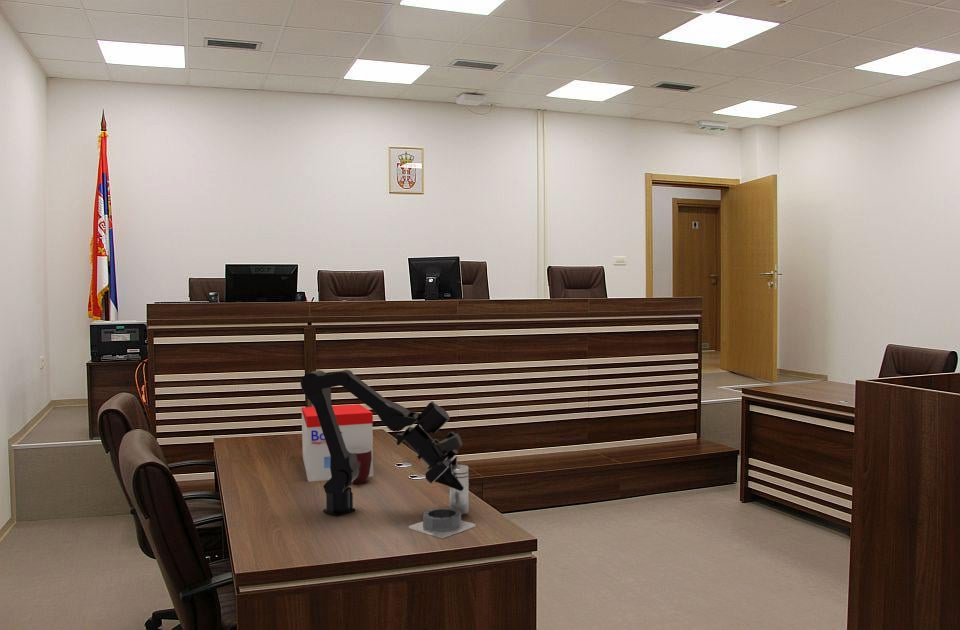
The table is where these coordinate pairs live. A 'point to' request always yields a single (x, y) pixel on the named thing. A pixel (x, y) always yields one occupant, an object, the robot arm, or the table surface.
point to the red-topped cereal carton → (354, 432)
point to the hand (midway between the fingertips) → (464, 487)
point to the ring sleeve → (442, 523)
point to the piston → (460, 497)
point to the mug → (362, 463)
